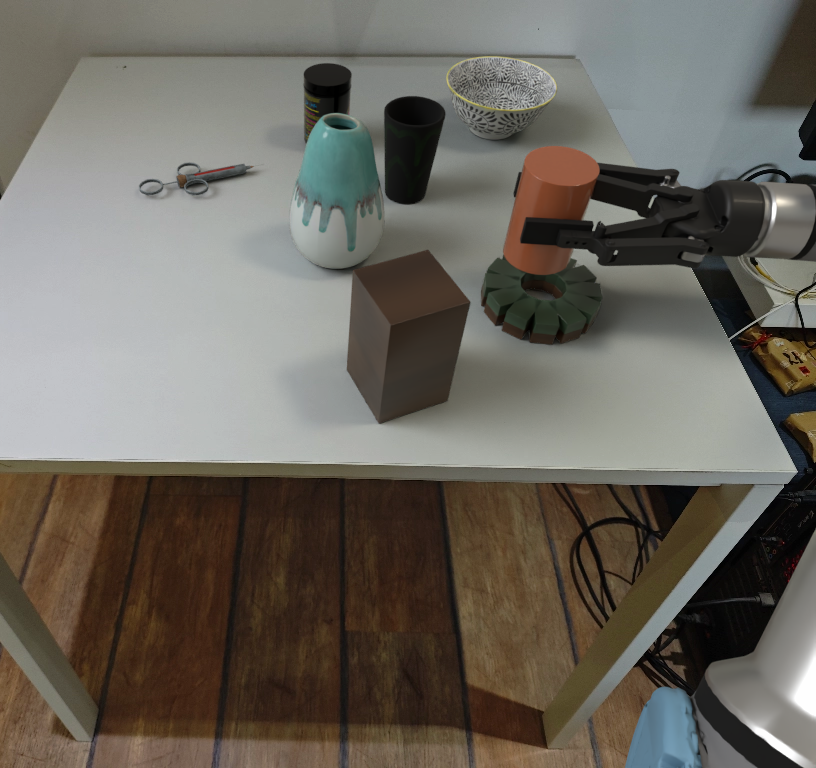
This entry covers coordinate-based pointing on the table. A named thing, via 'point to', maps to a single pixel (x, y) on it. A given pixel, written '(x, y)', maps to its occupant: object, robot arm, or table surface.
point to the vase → (337, 195)
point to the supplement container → (325, 93)
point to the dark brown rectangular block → (404, 334)
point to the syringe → (198, 177)
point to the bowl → (499, 94)
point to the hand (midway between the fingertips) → (519, 206)
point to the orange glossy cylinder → (549, 204)
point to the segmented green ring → (541, 301)
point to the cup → (410, 146)
